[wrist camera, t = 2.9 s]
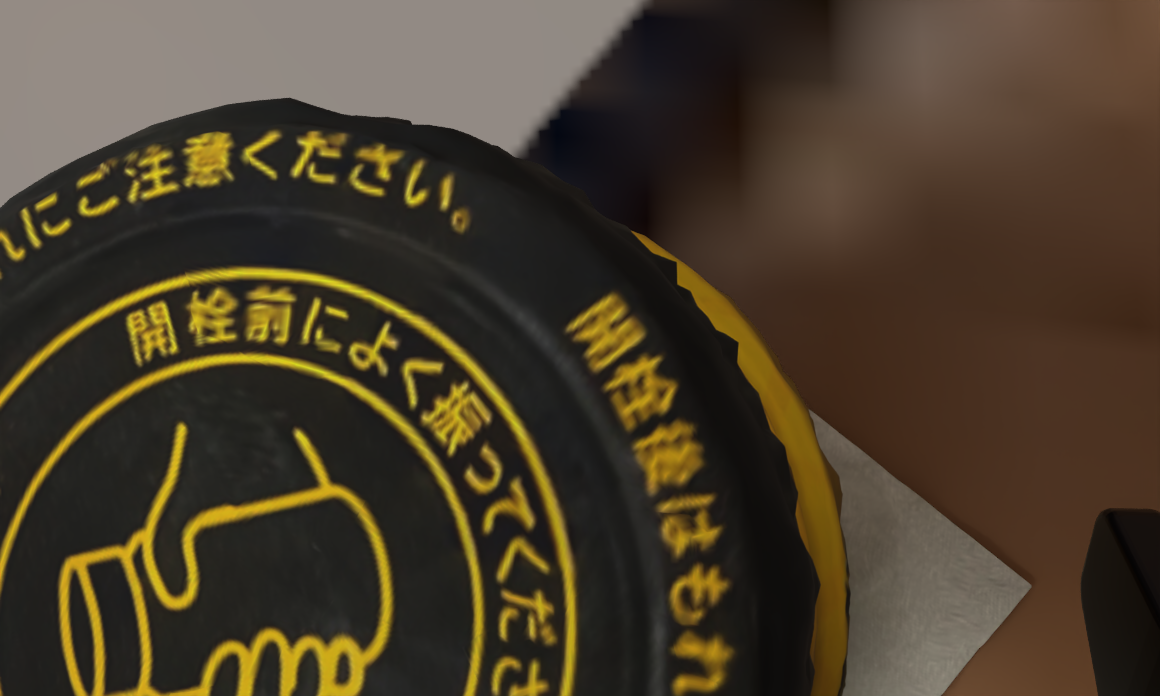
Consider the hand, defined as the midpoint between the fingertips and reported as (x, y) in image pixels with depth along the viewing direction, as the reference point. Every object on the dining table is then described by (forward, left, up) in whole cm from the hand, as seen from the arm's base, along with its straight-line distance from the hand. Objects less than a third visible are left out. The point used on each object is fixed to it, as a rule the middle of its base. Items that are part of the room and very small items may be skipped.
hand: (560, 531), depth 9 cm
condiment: (-1, 0, -7) cm, 7 cm away
